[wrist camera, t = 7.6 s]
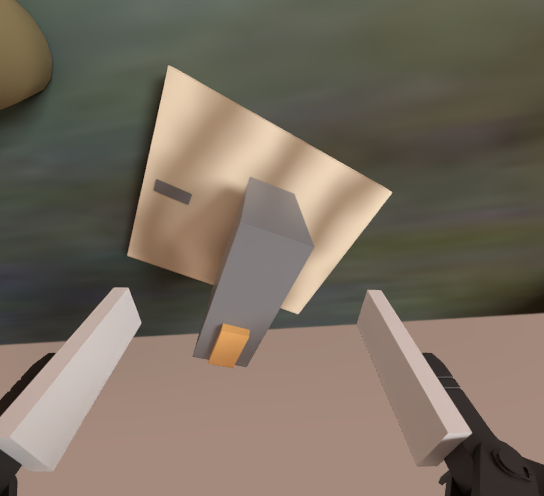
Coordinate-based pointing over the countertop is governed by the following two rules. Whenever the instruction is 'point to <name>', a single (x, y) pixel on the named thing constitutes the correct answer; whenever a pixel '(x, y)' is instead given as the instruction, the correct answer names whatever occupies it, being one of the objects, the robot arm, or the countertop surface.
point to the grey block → (253, 274)
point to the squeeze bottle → (21, 55)
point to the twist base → (238, 187)
